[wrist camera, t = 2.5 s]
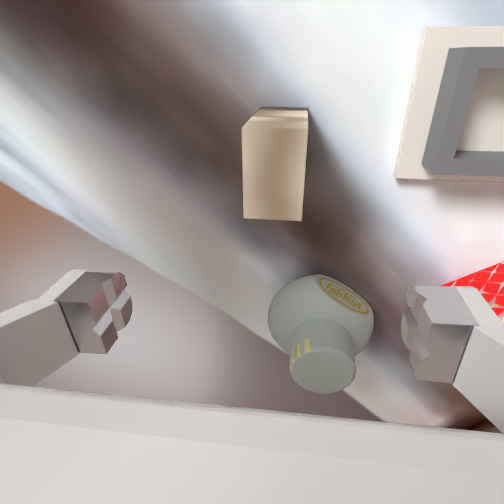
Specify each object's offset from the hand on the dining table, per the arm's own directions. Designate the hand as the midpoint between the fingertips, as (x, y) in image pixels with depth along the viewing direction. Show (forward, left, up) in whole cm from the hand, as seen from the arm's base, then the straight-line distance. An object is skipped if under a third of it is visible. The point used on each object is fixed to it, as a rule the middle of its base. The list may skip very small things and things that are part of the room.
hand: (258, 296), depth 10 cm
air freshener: (+4, -18, -24) cm, 30 cm away
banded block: (-1, -1, -24) cm, 24 cm away
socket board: (+16, +2, -24) cm, 29 cm away
